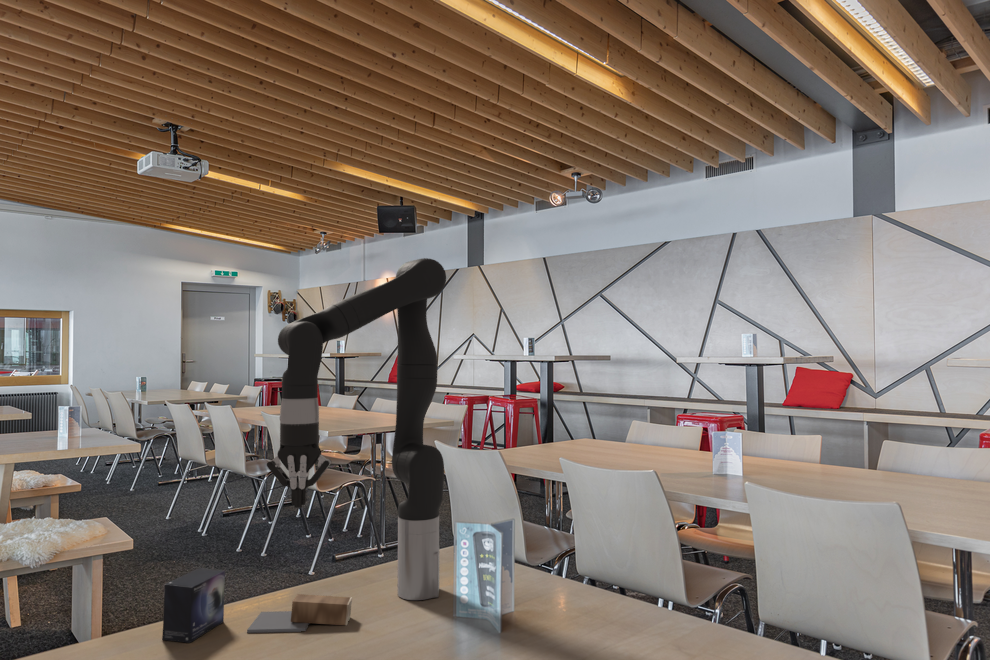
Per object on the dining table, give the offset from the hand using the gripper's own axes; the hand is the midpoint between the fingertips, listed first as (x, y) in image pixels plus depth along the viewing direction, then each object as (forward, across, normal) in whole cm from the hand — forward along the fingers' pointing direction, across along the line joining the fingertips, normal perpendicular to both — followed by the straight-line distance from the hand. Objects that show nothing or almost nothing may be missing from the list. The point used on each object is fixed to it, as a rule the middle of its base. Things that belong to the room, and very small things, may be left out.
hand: (299, 507), depth 133 cm
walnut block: (+20, +1, 0) cm, 20 cm away
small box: (+23, +19, +3) cm, 30 cm away
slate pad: (+23, +3, 0) cm, 23 cm away
